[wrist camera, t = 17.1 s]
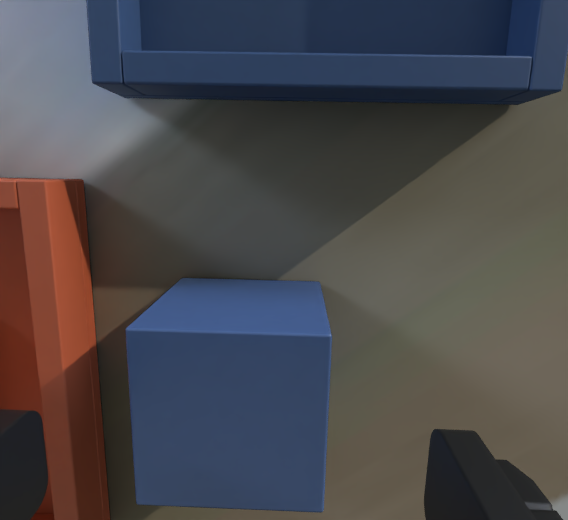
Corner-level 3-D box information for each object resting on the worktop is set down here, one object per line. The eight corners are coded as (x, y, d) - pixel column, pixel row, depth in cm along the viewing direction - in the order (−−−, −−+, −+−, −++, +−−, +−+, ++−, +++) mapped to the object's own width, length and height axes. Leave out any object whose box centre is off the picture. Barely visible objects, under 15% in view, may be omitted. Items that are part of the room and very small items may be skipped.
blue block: (185, 403, 14) (135, 505, 10) (181, 276, 13) (123, 328, 9) (315, 407, 14) (323, 514, 10) (320, 281, 13) (332, 334, 9)
